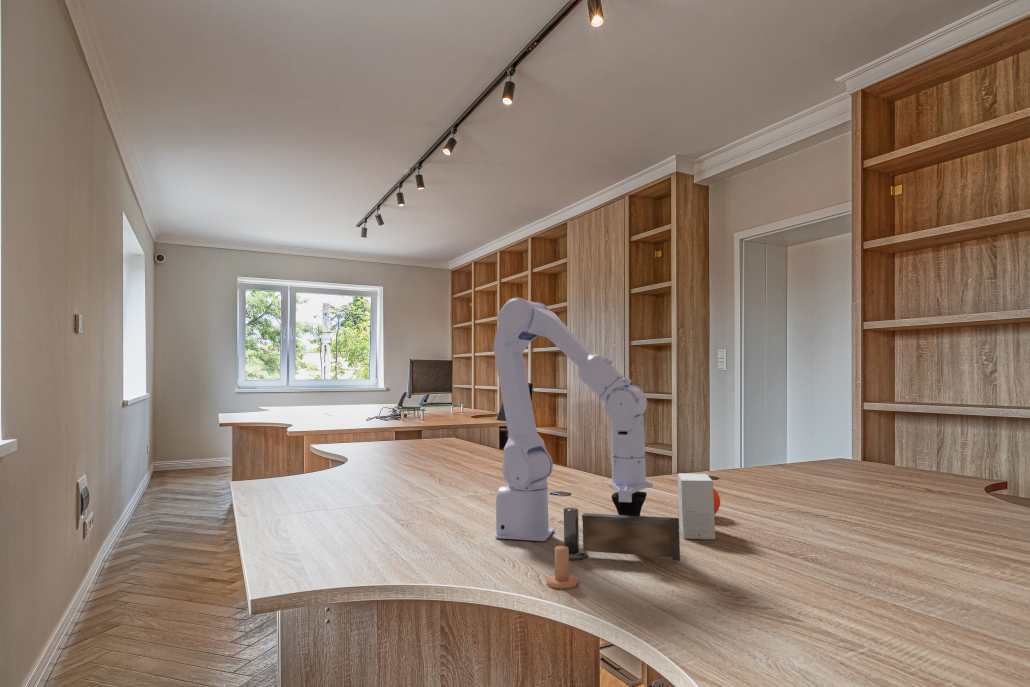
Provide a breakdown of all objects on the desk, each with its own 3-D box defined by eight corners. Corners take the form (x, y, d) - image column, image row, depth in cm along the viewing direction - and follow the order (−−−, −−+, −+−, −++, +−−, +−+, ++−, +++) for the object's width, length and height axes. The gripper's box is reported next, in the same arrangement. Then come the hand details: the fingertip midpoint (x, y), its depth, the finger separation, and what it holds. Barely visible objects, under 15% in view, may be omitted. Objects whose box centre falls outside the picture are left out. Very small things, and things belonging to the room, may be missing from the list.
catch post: (543, 587, 80) (543, 551, 81) (550, 576, 85) (550, 542, 85) (574, 590, 79) (573, 553, 79) (580, 579, 83) (579, 544, 84)
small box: (715, 540, 102) (713, 480, 102) (683, 539, 103) (681, 480, 103) (709, 528, 109) (707, 473, 110) (679, 527, 111) (677, 472, 111)
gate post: (553, 558, 93) (552, 512, 93) (560, 549, 98) (559, 505, 98) (584, 561, 91) (583, 513, 92) (589, 551, 96) (588, 506, 97)
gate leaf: (582, 554, 93) (582, 515, 94) (584, 551, 95) (583, 513, 95) (680, 561, 89) (678, 520, 89) (680, 557, 90) (678, 518, 91)
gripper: (649, 463, 91) (652, 550, 90) (654, 451, 105) (656, 526, 104) (604, 461, 93) (607, 547, 92) (615, 450, 107) (617, 524, 106)
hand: (630, 536), depth 98 cm, fingers closed
